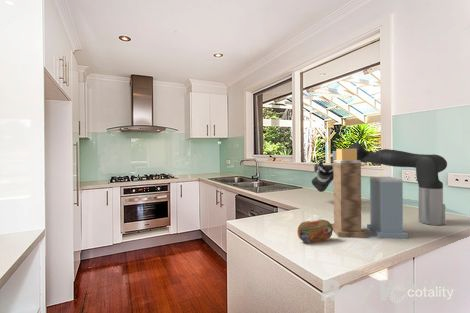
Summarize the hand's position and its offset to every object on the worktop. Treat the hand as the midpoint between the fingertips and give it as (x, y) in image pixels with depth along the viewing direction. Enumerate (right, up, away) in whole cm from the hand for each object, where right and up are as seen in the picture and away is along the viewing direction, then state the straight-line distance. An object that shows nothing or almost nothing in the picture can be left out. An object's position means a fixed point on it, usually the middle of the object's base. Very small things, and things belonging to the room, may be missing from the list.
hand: (329, 161), depth 133 cm
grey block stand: (+13, -30, -29) cm, 44 cm away
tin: (-20, -32, -36) cm, 52 cm away
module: (-3, +2, -23) cm, 23 cm away
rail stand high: (-3, -31, -27) cm, 41 cm away
